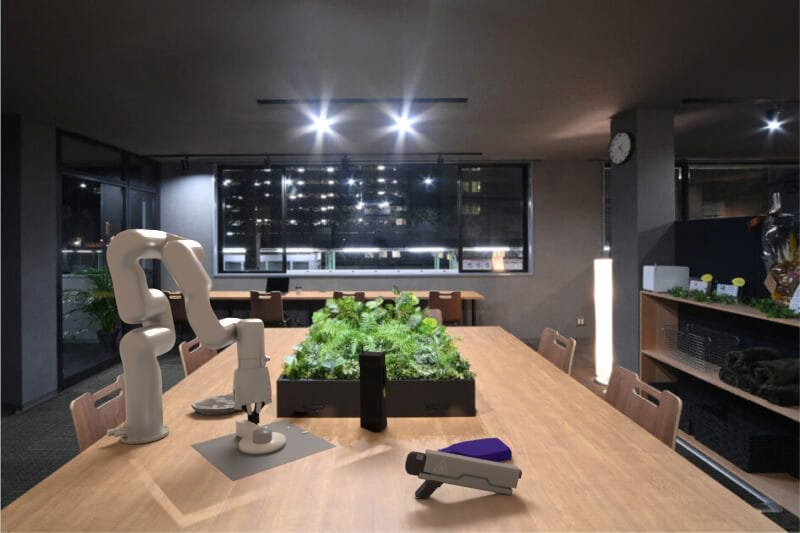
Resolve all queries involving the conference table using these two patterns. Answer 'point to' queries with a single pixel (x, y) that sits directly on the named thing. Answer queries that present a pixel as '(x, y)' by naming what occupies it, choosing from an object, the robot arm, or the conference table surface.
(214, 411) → the brain slice
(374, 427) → the black tall block
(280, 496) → the conference table surface
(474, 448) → the purple faceted wedge
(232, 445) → the dial plate
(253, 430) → the dial rotor
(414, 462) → the gun
